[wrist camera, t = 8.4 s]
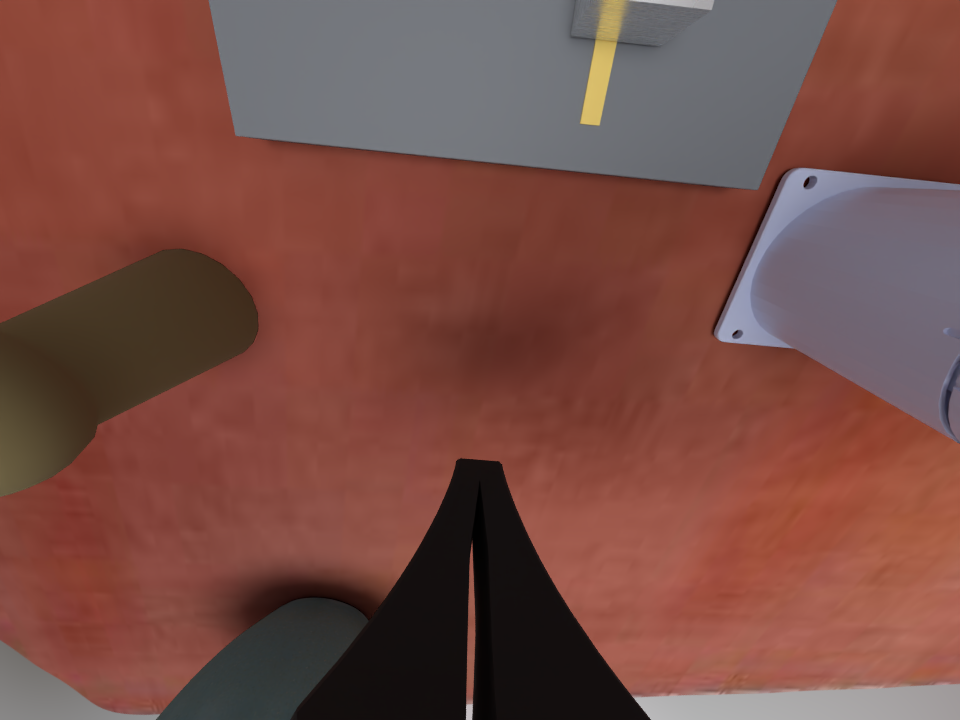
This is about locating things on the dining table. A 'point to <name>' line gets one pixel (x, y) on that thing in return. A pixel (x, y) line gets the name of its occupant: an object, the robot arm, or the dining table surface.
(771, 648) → the dining table surface
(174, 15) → the dining table surface
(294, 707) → the teal bowl
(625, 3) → the fader
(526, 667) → the robot arm
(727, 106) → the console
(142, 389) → the cork
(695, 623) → the dining table surface
